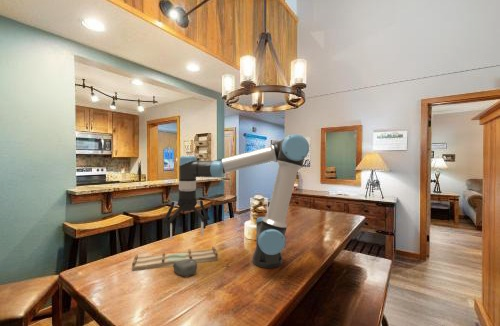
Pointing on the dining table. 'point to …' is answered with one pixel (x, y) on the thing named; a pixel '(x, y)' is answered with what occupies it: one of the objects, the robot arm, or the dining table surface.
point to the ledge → (173, 259)
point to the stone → (185, 267)
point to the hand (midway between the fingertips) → (186, 237)
